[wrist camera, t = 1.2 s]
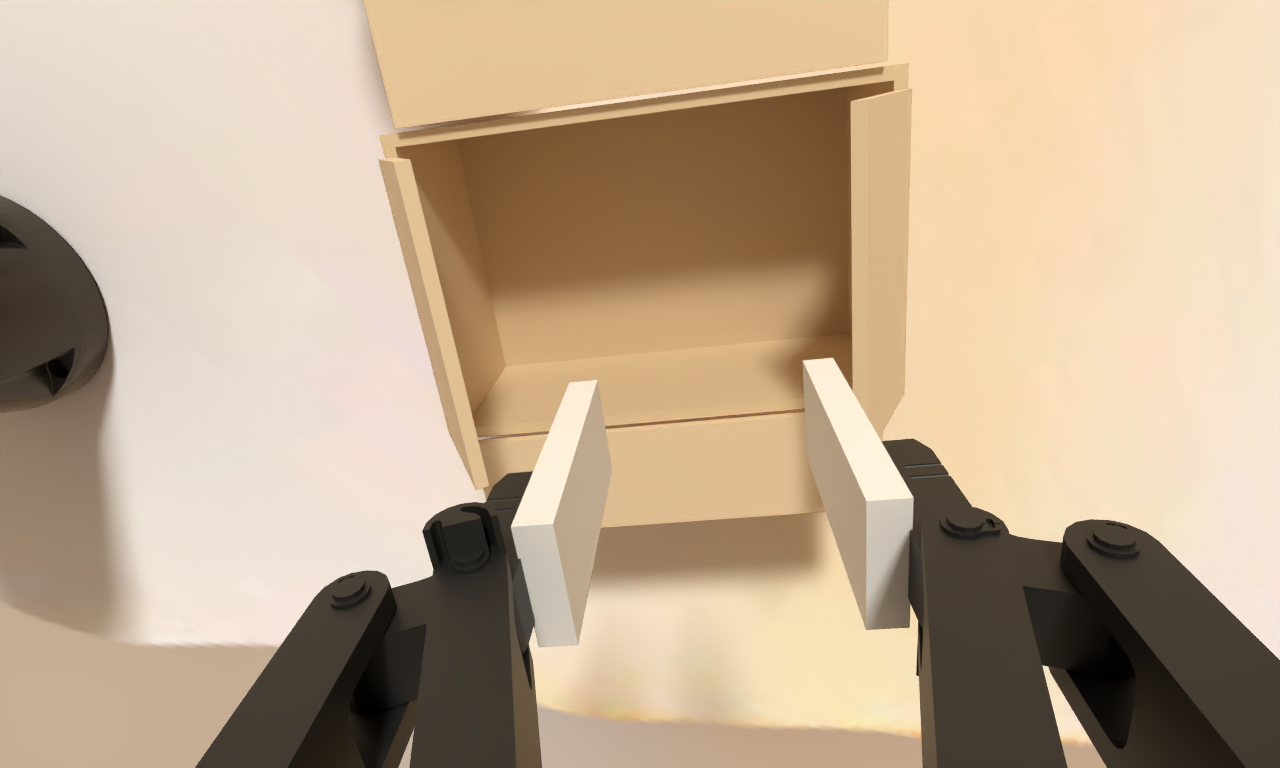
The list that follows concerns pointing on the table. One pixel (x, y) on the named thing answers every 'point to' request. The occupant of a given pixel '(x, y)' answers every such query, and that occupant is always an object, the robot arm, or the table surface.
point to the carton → (641, 225)
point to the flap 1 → (432, 312)
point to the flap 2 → (880, 250)
